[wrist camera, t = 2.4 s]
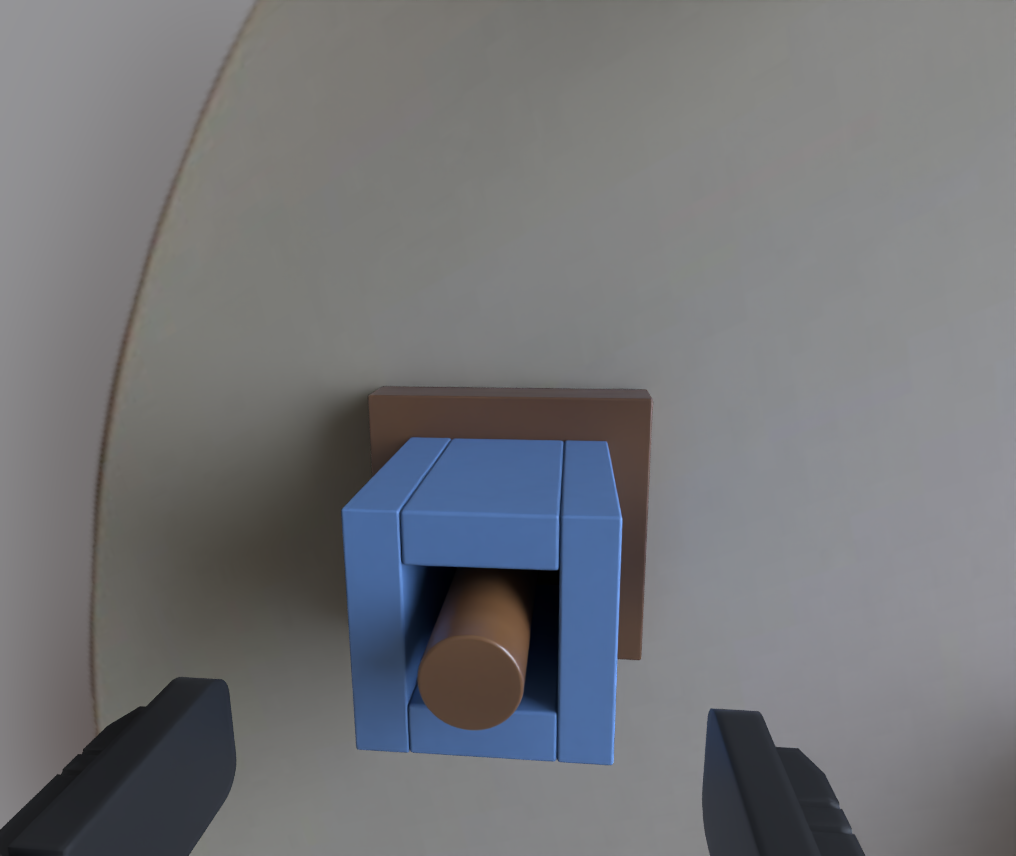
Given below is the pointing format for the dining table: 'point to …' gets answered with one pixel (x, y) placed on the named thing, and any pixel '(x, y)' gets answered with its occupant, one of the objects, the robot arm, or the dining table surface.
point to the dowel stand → (511, 592)
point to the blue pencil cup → (487, 544)
